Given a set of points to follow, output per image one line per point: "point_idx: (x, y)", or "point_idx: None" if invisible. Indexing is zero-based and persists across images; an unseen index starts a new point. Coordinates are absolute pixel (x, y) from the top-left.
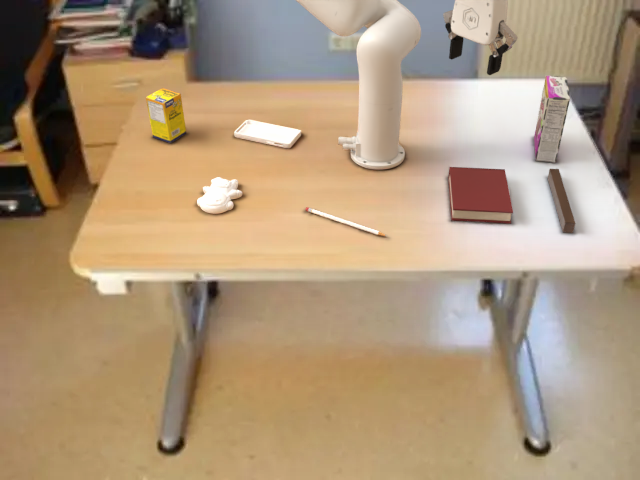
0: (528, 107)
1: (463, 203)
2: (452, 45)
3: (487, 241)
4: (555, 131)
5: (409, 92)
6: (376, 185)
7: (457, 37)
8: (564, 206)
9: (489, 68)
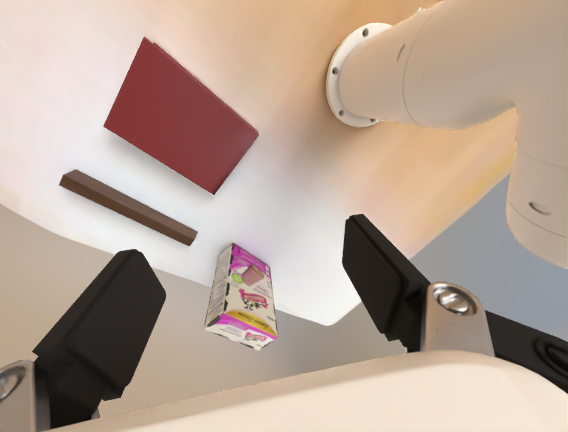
0: (314, 292)
1: (154, 70)
2: (389, 259)
3: (76, 50)
4: (218, 280)
5: (422, 224)
6: (307, 4)
7: (407, 321)
8: (105, 200)
9: (101, 272)
